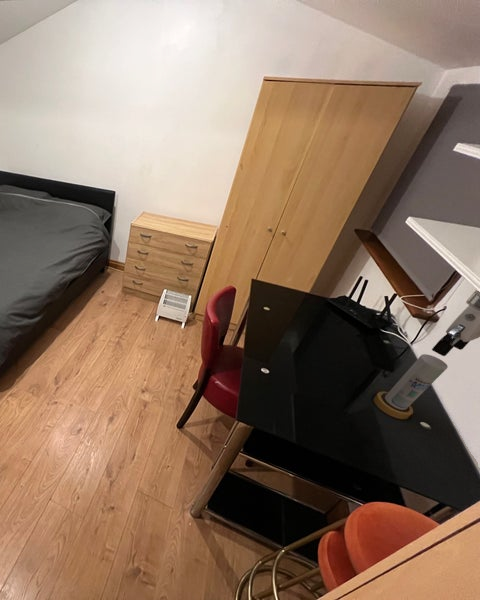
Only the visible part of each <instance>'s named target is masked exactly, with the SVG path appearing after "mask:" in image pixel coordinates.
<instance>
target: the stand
mask: <svg viewBox="0 0 480 600" xmlns="http://www.w3.org/2000/svg"><path fill="white" fill-rule="evenodd" d="M388 393H389V391H379V392H378V393H376V395H375V396H374V397H373V403H374V404H375V406H376V407H377V408H378V409H379V410H381V411H382V412H383V413H385V414H386V415H388V416H390V417H393V418H395V419H399V420H407V419H409V417H410V416H411V415H413V413H414V409H413V407H412V405H410V406H409V407H408V408H407V409H405V410H402V409H398V408H395V407H393V406H392V405H390V404H389V403H388V402H387V401H386V400H385V396H386V395H387V394H388Z"/></svg>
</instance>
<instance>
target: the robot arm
mask: <svg viewBox="0 0 480 600" xmlns="http://www.w3.org/2000/svg"><path fill="white" fill-rule="evenodd" d="M465 304H467V305H468V306H467V307H466V308H465V309H464V310H463V311H462V312H461V313H460V314H459V315H458V316H457V317H456V318H455V319H454V320H453V321H452V323H451V324H450V325H449V326H448V327H447V329H446V330H445V333H446V334H445V335H443V336H442V337H441V338H440V339H439V340H438V341H437V342H436V344H435V345H434V346H433V347H432V348H431V351H432V352H435V353H436V354H438V355H440V356H442V357H446V356H447V355H448V354H449V353H450V352H451V351H452V350H453V348H455V349H457V350H460V351H462V350H464V348H465V347H466V346H467V345H469V343H470V342H472V341H474V340H477V339H479V338H480V292H479V291H477V290H476V289H475V291H474V292H473V293H472V294H471V295H470V297H468V299H467V300H466V301H465Z"/></svg>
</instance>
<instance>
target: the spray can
mask: <svg viewBox="0 0 480 600" xmlns="http://www.w3.org/2000/svg"><path fill="white" fill-rule="evenodd" d="M448 368H449V366H448V364H447V363H446V362H445V361H443V359H440V358H438V357H437V356H434V355H431V354H427V353H425V354H424V353H423V354H421V355H420V356H419V357H418V358H417V359H416V361H414V362H413V364H412V365H411V366H410V367H409V368H408V369H407V371H406V372H405V373H404V374H403V375H402V376H401V378H400V379H399V380H398V381H397V382H396V383H395V384H394V385H393V387H392V388H390V390H389V391H388V392H389V393H388V394H387V395H386V396H385V400H386V401H387V402H388V403H389V404H390V405H392V406H393V407H395V408H398V409H402V410H405V409H407V408H408V407H409V406H412V404H413V403H414V402H416V400H417V399H418V398H419V397H420V396H421V395H422V394H423V393H424V392H425V391H426V390H427V389H428V388H429V387H430V386H431V385H432V384H433V383H434V382H435V381H436V380H437V379H438V378H439V377H440V376H442V375H443V373H444V372H445V371H446V370H447V369H448Z"/></svg>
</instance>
